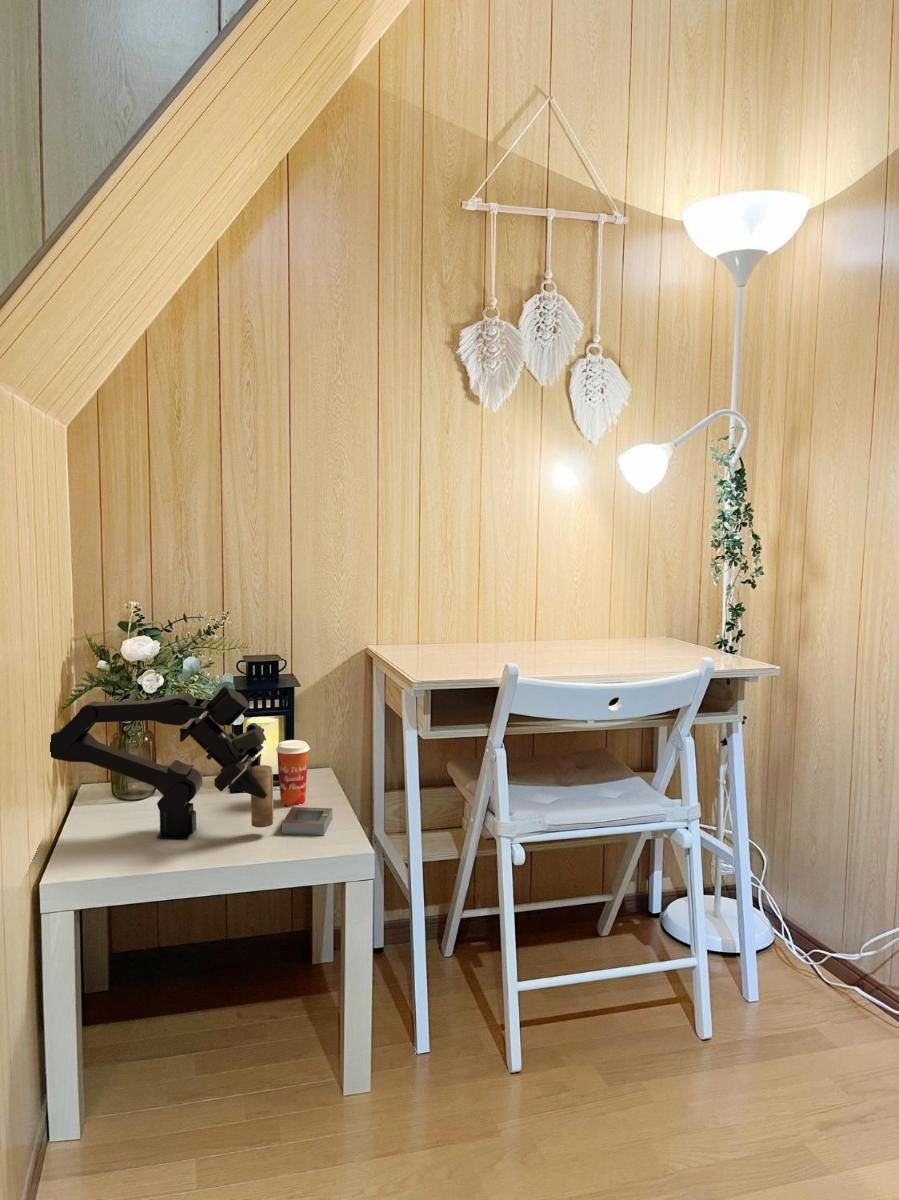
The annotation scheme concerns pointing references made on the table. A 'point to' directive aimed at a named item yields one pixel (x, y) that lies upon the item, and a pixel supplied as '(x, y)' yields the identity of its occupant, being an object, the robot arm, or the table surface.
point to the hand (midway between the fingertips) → (268, 793)
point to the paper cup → (292, 771)
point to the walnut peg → (259, 806)
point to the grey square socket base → (307, 821)
